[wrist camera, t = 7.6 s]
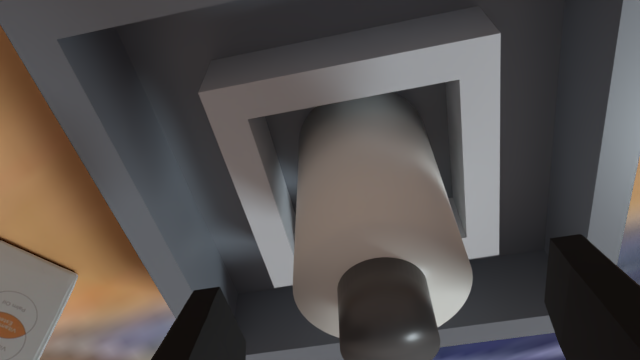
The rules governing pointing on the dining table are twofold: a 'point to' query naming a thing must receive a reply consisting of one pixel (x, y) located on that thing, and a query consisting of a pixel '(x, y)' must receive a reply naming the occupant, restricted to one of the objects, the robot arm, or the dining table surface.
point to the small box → (29, 302)
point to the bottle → (375, 231)
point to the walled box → (331, 87)
